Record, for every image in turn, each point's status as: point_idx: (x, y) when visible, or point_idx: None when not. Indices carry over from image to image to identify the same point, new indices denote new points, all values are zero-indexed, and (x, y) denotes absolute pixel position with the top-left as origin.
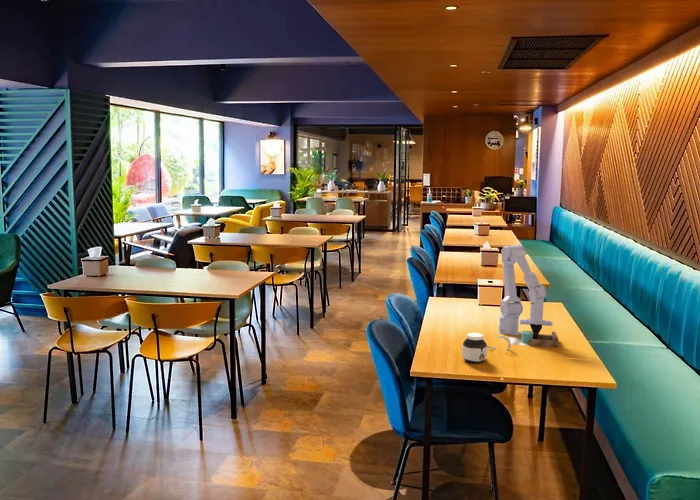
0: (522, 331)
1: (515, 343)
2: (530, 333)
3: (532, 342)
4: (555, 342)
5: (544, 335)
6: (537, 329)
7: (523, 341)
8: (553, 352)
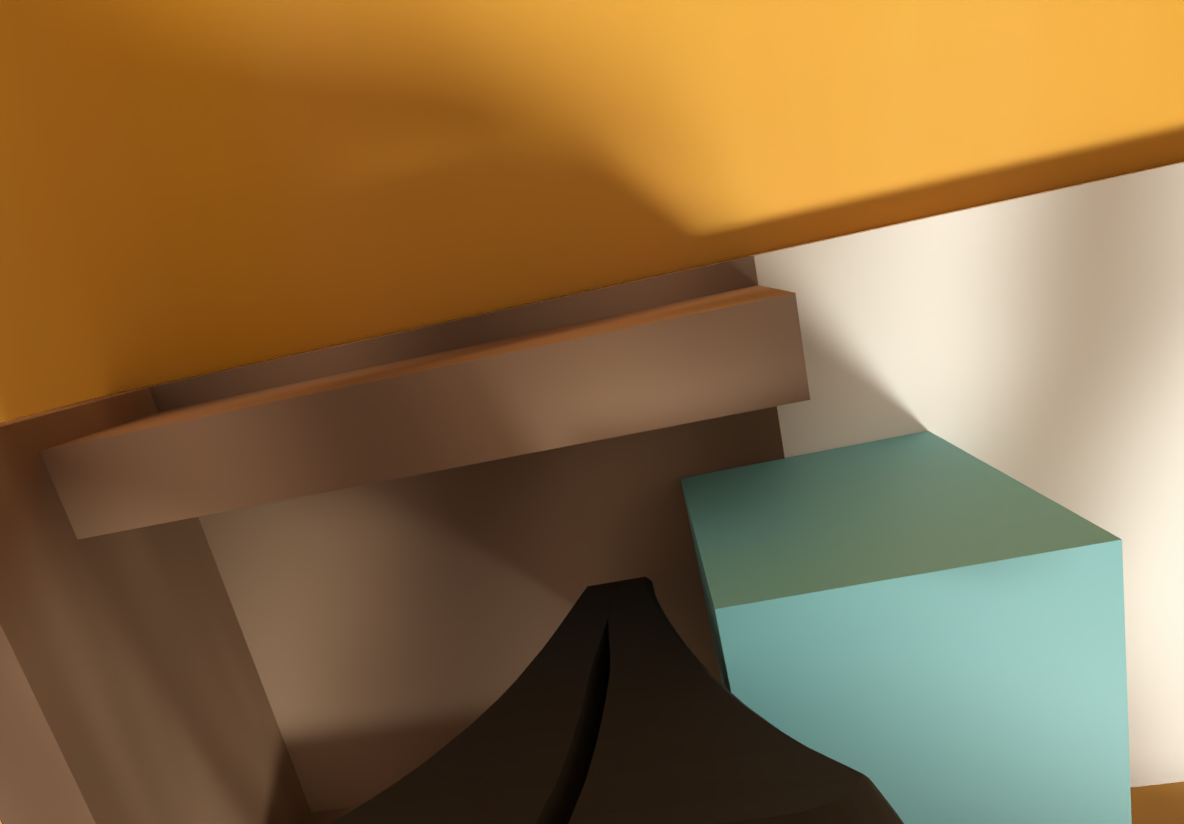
0: (1116, 800)
1: (1118, 288)
2: (803, 643)
3: (666, 311)
4: (29, 420)
5: None
6: (508, 788)
7: (917, 445)
8: (105, 21)
